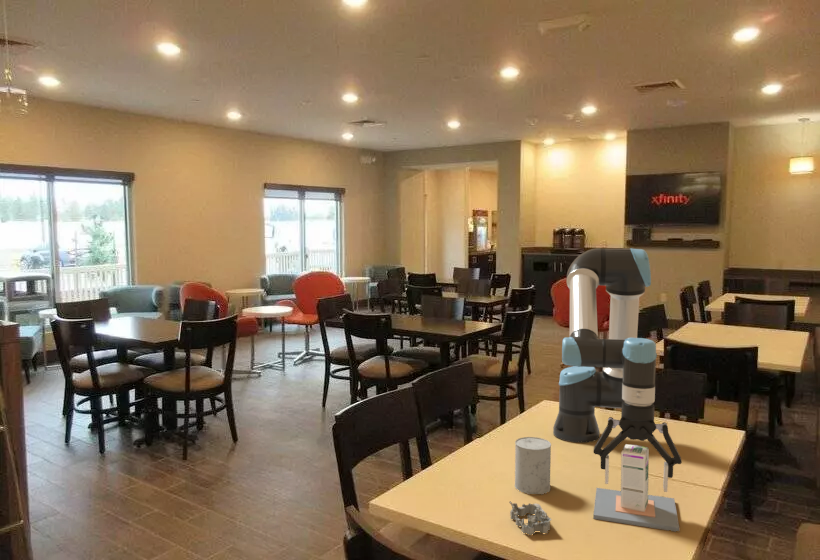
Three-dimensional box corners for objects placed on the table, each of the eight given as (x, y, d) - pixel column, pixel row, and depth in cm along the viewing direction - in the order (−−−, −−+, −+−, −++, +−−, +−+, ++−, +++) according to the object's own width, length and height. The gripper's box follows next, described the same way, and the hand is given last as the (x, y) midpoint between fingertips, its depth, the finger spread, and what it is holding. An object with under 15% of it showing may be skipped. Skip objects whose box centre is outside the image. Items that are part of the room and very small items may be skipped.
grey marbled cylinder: (552, 482, 164) (552, 439, 163) (548, 497, 155) (549, 451, 154) (517, 477, 167) (518, 435, 166) (511, 491, 158) (512, 447, 157)
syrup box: (645, 512, 144) (647, 454, 143) (619, 507, 147) (621, 450, 146) (648, 503, 149) (650, 447, 148) (623, 498, 152) (625, 443, 151)
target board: (593, 518, 144) (593, 513, 143) (596, 491, 159) (596, 486, 158) (679, 532, 137) (679, 527, 137) (673, 502, 152) (674, 497, 152)
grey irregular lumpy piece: (507, 516, 146) (507, 500, 145) (536, 513, 147) (536, 497, 147) (522, 538, 135) (522, 520, 135) (553, 535, 136) (553, 518, 136)
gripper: (584, 401, 146) (582, 484, 148) (695, 411, 138) (692, 499, 140) (586, 393, 153) (584, 472, 155) (692, 402, 145) (689, 486, 147)
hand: (635, 485), depth 147 cm, fingers open, 13 cm apart
